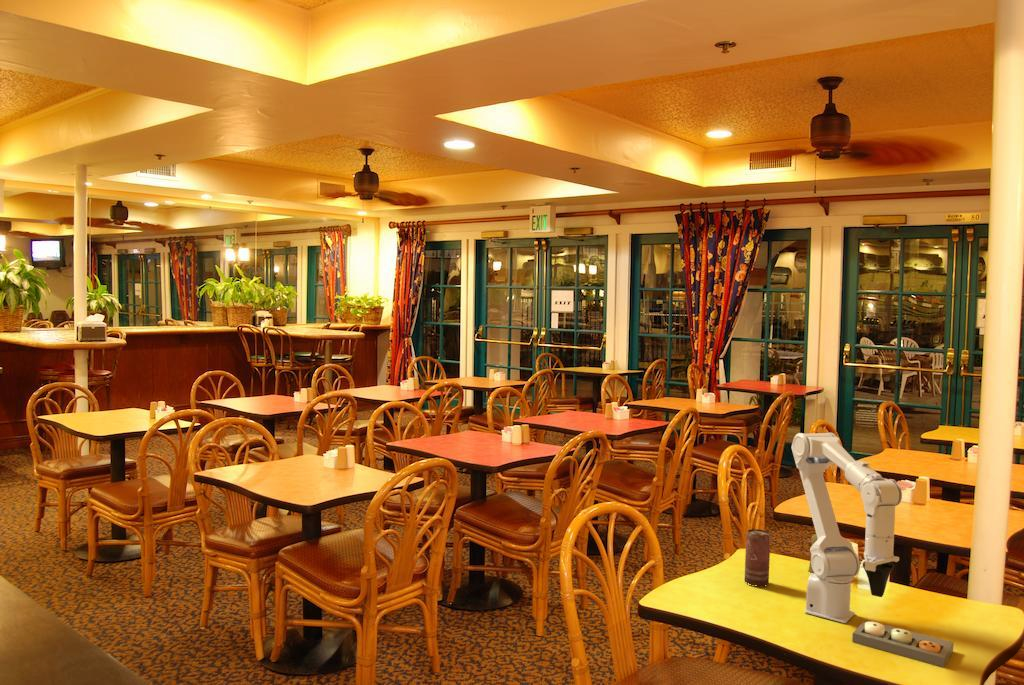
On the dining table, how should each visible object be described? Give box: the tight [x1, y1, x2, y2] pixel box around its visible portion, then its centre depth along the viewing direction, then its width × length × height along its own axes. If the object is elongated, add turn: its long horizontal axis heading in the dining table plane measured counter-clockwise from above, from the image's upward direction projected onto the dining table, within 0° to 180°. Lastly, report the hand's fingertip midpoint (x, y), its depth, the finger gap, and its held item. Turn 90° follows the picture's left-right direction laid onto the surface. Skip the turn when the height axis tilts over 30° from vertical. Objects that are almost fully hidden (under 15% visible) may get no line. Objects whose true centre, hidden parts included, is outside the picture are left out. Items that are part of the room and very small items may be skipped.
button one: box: [864, 621, 885, 638], centre depth 172 cm, size 4×4×2 cm
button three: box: [919, 641, 940, 653], centre depth 165 cm, size 4×4×2 cm
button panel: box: [851, 619, 955, 668], centre depth 170 cm, size 18×10×2 cm, turn 51°
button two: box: [891, 628, 912, 645], centre depth 169 cm, size 4×4×2 cm
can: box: [744, 528, 771, 587], centre depth 206 cm, size 6×6×14 cm
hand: (877, 595), depth 172 cm, fingers closed
